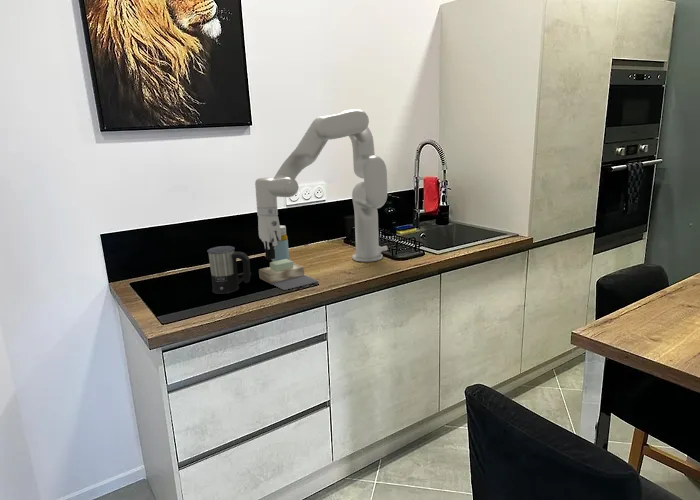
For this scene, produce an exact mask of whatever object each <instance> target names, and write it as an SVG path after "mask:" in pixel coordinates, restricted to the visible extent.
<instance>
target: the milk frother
mask: <svg viewBox="0 0 700 500" xmlns="http://www.w3.org/2000/svg"><path fill="white" fill-rule="evenodd" d="M206 252H207V253H208V260H209V267H210V273H211V274H210V275H211V284H212V285H211V286H212V291H211V292H212V293H214V294H217V295H218V294H219V295H220V294H221V295H224V294H231V293H234V292H236V291H238V290H239V289H240V285H239V284H241V283H242V282H244V283H245V284H248V283H250V281H251V275H252V272H251V263H250V258H249V256H248V254H247V253H246V252H243V251H235V246H231V245H225V246H224V245H221V246H214V247H211V248H209V249H207V251H206ZM237 259H239V260H241V262H242V272H240V273H239V271H238V262H237Z"/></svg>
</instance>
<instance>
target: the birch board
mask: <svg viewBox="0 0 700 500" xmlns="http://www.w3.org/2000/svg"><path fill="white" fill-rule="evenodd" d="M304 269H305V267H304V266H303V265H300V264H298V263H295V262H293V268H291V269H287V270H282V271H278V272H276V271H274V270H272V269H270V266H269V267H268V266H267V267H263V268H259V269H258V275H259V277H258V278H259V279H260V280H263V281H264V282H266V283H268V284H270V285H272V284H271V283H274V282H278V281H282V280H286V279H290V278H295V277H299V276H303V275H305V270H304Z"/></svg>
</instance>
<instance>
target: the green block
mask: <svg viewBox="0 0 700 500" xmlns="http://www.w3.org/2000/svg"><path fill="white" fill-rule="evenodd" d="M293 263H294V261H293V260H290V259H289V260H288V259H283V260H279V261H274V262H272V261H270V262H269V267H270V269H272V270H274V271H276V272H278V271H282V270H287V269H291V268H293Z"/></svg>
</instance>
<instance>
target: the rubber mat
mask: <svg viewBox="0 0 700 500" xmlns="http://www.w3.org/2000/svg"><path fill="white" fill-rule="evenodd" d="M319 282H320V281H319V280H317V279H315V278H312V277H310V276H308V275H305V274H304V275H303V276H299V277H295V278H290V279H286V280H282V281H278V282H274V283H271V284H270V285H272V286H273V285H274V287H275V286H276V287H275V288H277V287H278V288H277V289H279V288H280V289H279V290H281V289H282V290H281V291H283V290H286V291H289V290H288V289H290V290H293V289H292V288H294V289H296V288H295V287H298V288H301V287H300V286H302V287H305V285H306V286H310V285H313V284H312V283H314V284H317V283H319ZM309 284H310V285H309Z"/></svg>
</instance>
